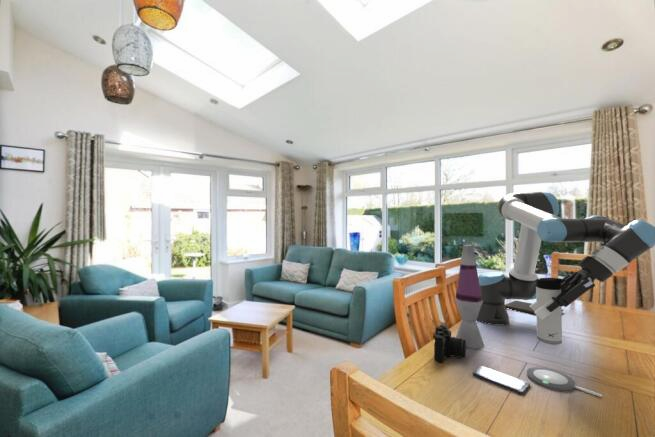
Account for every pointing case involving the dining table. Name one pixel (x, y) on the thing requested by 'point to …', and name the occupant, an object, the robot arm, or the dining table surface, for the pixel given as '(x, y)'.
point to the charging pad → (554, 380)
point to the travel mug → (552, 324)
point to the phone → (502, 380)
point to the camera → (447, 344)
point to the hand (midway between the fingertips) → (535, 312)
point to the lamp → (469, 299)
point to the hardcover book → (522, 307)
